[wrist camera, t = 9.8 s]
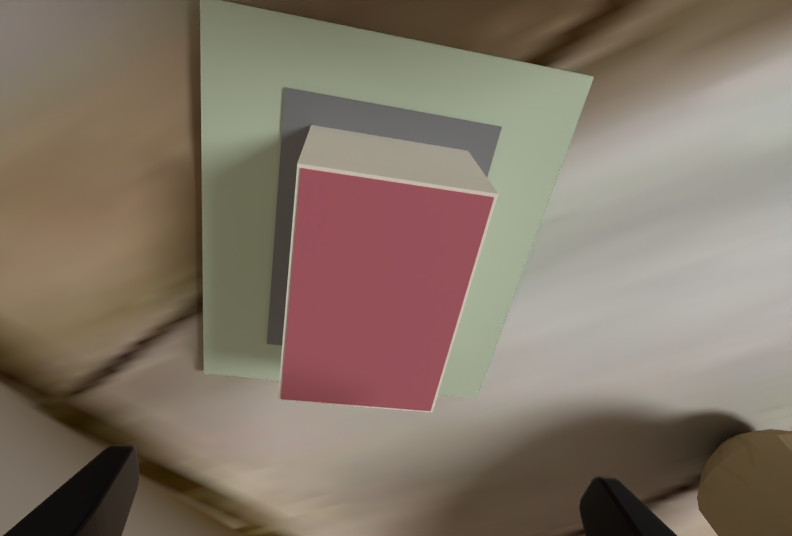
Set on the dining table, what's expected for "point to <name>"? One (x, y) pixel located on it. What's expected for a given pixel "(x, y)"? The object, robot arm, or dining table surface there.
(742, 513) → the decorative mushroom
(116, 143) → the dining table surface
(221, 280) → the mat
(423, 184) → the card box
